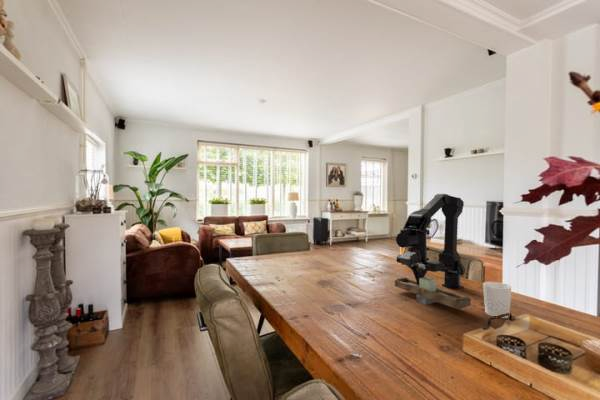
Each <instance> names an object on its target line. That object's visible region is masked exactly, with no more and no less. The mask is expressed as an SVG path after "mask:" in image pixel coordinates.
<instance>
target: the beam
mask: <svg viewBox="0 0 600 400" xmlns="http://www.w3.org/2000/svg"><path fill="white" fill-rule="evenodd" d="M394 286H395V287H396V288H398V289H401V290H405V291H407V292H409V293H412V294H415V295H416V297H415V298H416V300H415V302H416V303H419V304H422V305H423V306H427V305H432V304H434V303H440V304H441V305H444V306H445V305H446V306H448V307H450V308H452V309H456V310H459V309H463V308H467V307H471V304H472V303H471V302H472V301H471V297H468V296H465V295H462V294H458V293H455V292H452V291H448V290H445V289H443V288H439V287H437V286H436V291H435V292H431V291H428V290H426V289H422V288H419V284H417V281H416V279H415V280H414V279H412V278H410V277H409V278H408V277H405V276H404V277H403V276H402V277H400V278H399V277H398V278H396V279H395V280H394Z"/></svg>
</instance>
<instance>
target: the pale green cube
mask: <svg viewBox="0 0 600 400" xmlns="http://www.w3.org/2000/svg"><path fill="white" fill-rule="evenodd" d="M436 287H437V279H435V278H432V277H428V276H424V277H422V278H419V288H422V289H426V290H428V291H431V292H435V291H436Z"/></svg>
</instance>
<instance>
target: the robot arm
mask: <svg viewBox="0 0 600 400" xmlns="http://www.w3.org/2000/svg"><path fill="white" fill-rule="evenodd" d="M464 203H465V202H464V200H463V199H462V198H461V197H457V196H452V195H449V194H447V193H439V194H438V193H437V194H435V195H434V197H433V198H432V199H431V200H430V201H429V202H427V204H425V205H424V207H422V208H421V209H419V210H415V211H412V212H411V213H409V214H408V217H407V220H406V221H405V224H404V226H403V228H402V229H400V232H399V233H398V234H397V235H396V237H395V241H396V244H397V245H398V247H400V248H402V249H404V248H408V250H407V252H404V253H403V254H398V255H397V256H396V263H400V264H401V265H402V266H403V265H404V266H407V267H408V268H410V270H412V273H413V276H414V278H415V281H417V284H419V278H422V277H426V275H427V273H428V271H429V272H433V273H437V272H443V273H444V276H443V278H444V279H443V280H444V282H443V283H441V286H443V287H446V288H449V289H452V290H457V289H461V288H464V285H461V276H465V274H466V268H465V266H464V265H463V263H462V260H461V255H460V254H459V252H458V250H457V249H458V248H457V247H458V225H459V224H458V223H459V217H460V215H461V214H463V208H464ZM440 210H441V212H442V214H443V216H444V218H445V220H444V221H445V222H444V241H443V247H444V248H443V250H442V251H441V252H439V253H438V261H437V260H432V261H431V260H430V259H429V257H427V251H429V250H430V249H429V247H427V234H430V230H428V229H427V228H428V227H429V225H430V224H431V223H432V217H433V216H435V214H436V213H438V211H440ZM429 260H430V261H429Z"/></svg>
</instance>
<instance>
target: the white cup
mask: <svg viewBox="0 0 600 400" xmlns="http://www.w3.org/2000/svg"><path fill="white" fill-rule="evenodd" d="M482 289H483V302H484V312H485V314H487V315H488V316H490V317H493V318H495V317H494V316H498V315H501V314H506V313H509V314H510V311H511V310H510V309H511V303H512V301H511V300H512V286H511V285H508V284H507V283H503V282H499V281H484V282H482ZM508 318H509V317H507V316H505V317H502V318H501V319H508Z"/></svg>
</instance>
